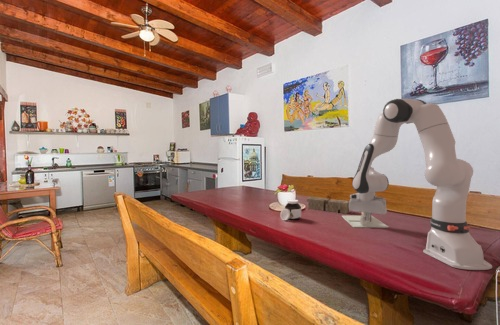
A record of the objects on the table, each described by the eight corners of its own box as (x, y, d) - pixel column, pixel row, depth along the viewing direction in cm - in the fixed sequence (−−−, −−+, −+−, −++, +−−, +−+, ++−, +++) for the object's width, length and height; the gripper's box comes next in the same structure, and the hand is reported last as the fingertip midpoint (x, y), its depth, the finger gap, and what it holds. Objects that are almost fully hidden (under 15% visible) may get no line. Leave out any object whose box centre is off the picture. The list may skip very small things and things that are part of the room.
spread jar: (302, 217, 167) (302, 199, 167) (297, 222, 157) (297, 203, 157) (284, 216, 172) (284, 198, 172) (278, 220, 162) (278, 201, 162)
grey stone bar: (350, 213, 181) (311, 206, 199) (350, 201, 180) (311, 195, 199) (346, 215, 175) (306, 208, 193) (346, 203, 174) (306, 197, 192)
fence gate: (362, 225, 147) (362, 216, 146) (360, 224, 148) (360, 215, 147) (370, 221, 154) (370, 212, 154) (368, 220, 155) (368, 212, 155)
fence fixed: (371, 222, 155) (371, 210, 155) (368, 222, 155) (369, 210, 155) (363, 216, 168) (363, 206, 167) (361, 216, 168) (361, 206, 168)
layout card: (388, 227, 144) (388, 226, 144) (353, 227, 146) (353, 226, 146) (371, 216, 168) (371, 215, 168) (341, 216, 170) (341, 215, 170)
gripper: (388, 196, 143) (389, 222, 142) (352, 194, 158) (353, 217, 158) (383, 198, 138) (384, 224, 138) (347, 195, 154) (347, 218, 154)
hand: (367, 220), depth 148 cm, fingers closed
